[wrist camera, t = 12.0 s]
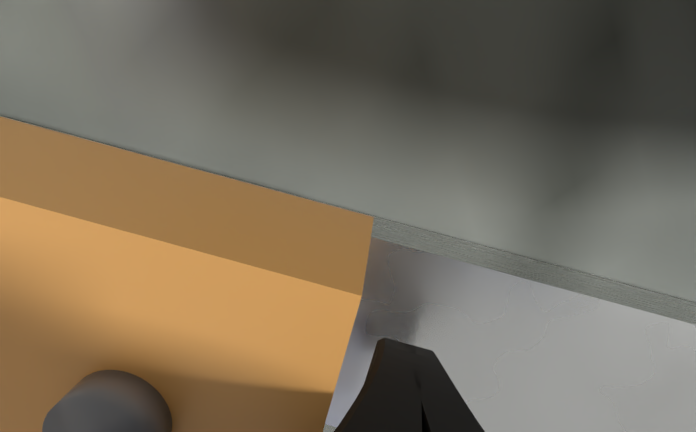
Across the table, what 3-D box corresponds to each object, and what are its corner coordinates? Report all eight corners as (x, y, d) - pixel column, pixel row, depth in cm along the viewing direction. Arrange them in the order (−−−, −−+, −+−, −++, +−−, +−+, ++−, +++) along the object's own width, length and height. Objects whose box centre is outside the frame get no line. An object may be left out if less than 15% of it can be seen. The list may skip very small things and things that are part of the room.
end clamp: (309, 443, 11) (263, 642, 7) (-2, 355, 11) (-211, 503, 7) (374, 216, 9) (358, 319, 5) (1, 116, 9) (-277, 144, 6)
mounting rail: (701, 502, 12) (813, 658, 9) (-286, 227, 13) (-519, 278, 10) (825, 316, 11) (1021, 426, 7) (-332, 6, 11) (-638, -24, 8)
